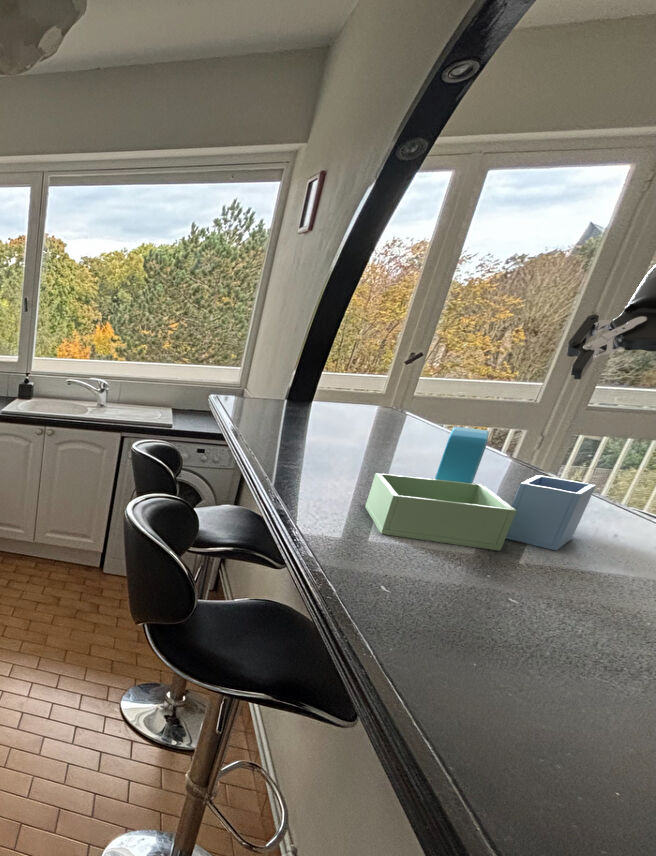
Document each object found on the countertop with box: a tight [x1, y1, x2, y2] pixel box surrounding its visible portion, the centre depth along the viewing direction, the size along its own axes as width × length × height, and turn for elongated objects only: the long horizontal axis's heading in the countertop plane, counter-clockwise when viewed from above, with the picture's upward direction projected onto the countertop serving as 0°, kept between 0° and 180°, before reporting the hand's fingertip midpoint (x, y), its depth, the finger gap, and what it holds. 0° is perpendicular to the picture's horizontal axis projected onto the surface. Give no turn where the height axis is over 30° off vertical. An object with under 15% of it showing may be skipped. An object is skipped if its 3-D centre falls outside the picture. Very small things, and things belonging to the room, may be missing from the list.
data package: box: [434, 426, 490, 483], centre depth 95 cm, size 12×4×12 cm, turn 138°
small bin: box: [505, 474, 597, 551], centre depth 82 cm, size 6×8×8 cm
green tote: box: [365, 472, 517, 552], centre depth 86 cm, size 13×13×6 cm
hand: (620, 379), depth 82 cm, fingers open, 8 cm apart
